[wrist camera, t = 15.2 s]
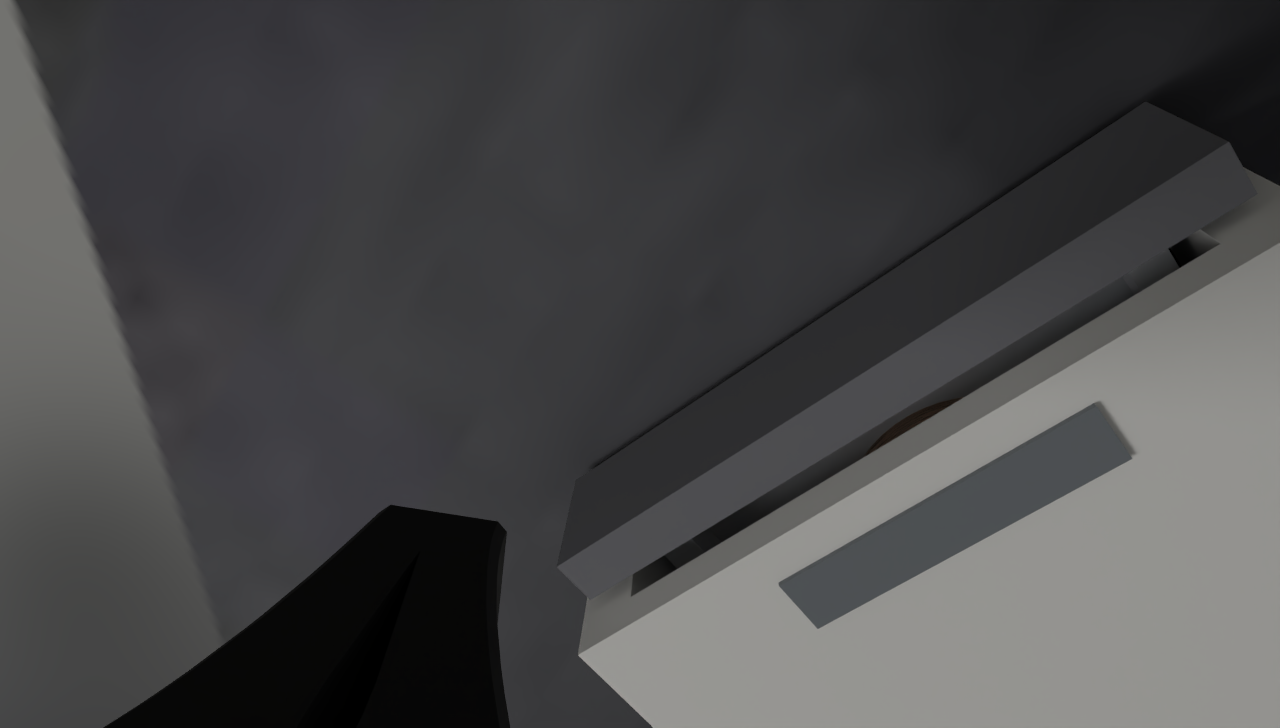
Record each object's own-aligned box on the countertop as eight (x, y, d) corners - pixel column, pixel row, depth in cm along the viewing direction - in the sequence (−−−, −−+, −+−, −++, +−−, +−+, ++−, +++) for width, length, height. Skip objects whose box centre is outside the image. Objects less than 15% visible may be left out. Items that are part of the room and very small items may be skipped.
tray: (1426, 586, 21) (1532, 689, 18) (902, 822, 25) (925, 933, 22) (1145, 101, 17) (1229, 141, 14) (575, 480, 21) (556, 566, 18)
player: (1470, 628, 22) (1639, 793, 18) (928, 861, 26) (968, 1033, 22) (1192, 140, 17) (1335, 214, 13) (600, 520, 22) (577, 659, 18)
